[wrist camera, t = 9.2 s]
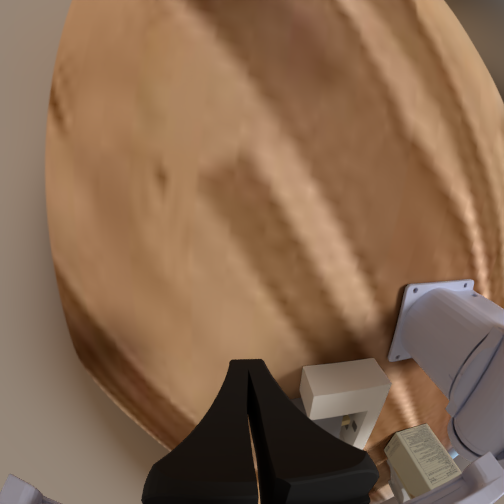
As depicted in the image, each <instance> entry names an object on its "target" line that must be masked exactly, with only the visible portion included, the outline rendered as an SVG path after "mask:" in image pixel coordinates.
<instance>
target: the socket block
mask: <svg viewBox="0 0 504 504" xmlns="http://www.w3.org/2000/svg"><path fill="white" fill-rule="evenodd" d="M391 384H392V383H391V381H390V380H389V378H388V377H387V376H386V374H385V373H384V371H383V370H382V369H381V367H380V366H379V364H378V363H377V362H376V360H375V359H374V358H368V359H362V360H355V361H347V362H339V363H331V364H321V365H311V366H303V370H302V376H301V383H300V389H299V391H300V394H301V398H302V401H303V404H304V407H305V410H306V414H307V417H308V418H310V419H311V420H317V419H324V418H330V417H336V416H342V415H343V416H346V415H348V416H349V418H350V423H349V424H347V425H343V426H341V430H340V435H339V439H340V440H342V441H344V442H346V443H348V444H350V445H352V446H354V447H357V448H359V449H361V450H363V448H364V446H365V444H366V442H367V440H368V438H369V436H370V434H371V432H372V429H373V427H374V425H375V423H376V421H377V418H378V416H379V414H380V411H381V409H382V407H383V404H384V402H385V399H386V397H387V394H388V392H389V389H390V387H391Z"/></svg>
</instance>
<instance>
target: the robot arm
mask: <svg viewBox="0 0 504 504" xmlns="http://www.w3.org/2000/svg"><path fill="white" fill-rule="evenodd" d="M473 285H474V281H473V280H472V279H465V280H455V281H443V282H431V283H417V284H409V285H407V286H406V288H405V291H404V296H403V300H402V305H401V309H400V314H399V318H398V322H397V326H396V330H395V334H394V337H393V341H392V344H391V348H390V351H389V355H388V360H389V361H390V362H394V361H399V360H404V359H409V358H413V359H414V360H415V361H416V362H417V364H418V365H419V366H420V367H421V368H422V369H423V370H424V371H425V373H426V374H427V375H428V376H429V377H430V378H431V380H432V381H433V382H434V383H435V384H436V385H437V387H438V388H439V389H440V390H441V391H442V392H443V394H444V395H445V396H446V397H447V398H448V400H449V403H448V405H447V407H446V410H447V412H448V413H449V414H450V415H451V417H452V418H451V419H450V421H449V423H448V435H449V438H450V441H451V444H452V446H453V448H454V449H455V451H456V452H457V453H458V454H459V455H460V456H461V457H463V458H464V459H465V460H467V461H469V462H472V463H471V464H469V465H468V466H467V467H466V468H465V469H464V471H463V472H462V474H460V475H459V476H457V477H455V478H453V479H452V480H450V481H448V482H446V483H444V484H442V485H440V486H438V487H436V488H434V489H432V490H430V491H428V492H426V493H424V494H422V495H420V496H417V497H415V498H413V499H410V500H408V501H406V502H403V503H401V504H493V503H495V502H496V501H497V500H498V499H499V498H500V497H501V496H503V495H504V309H503V308H501V307H500V306H498V305H496V304H495V303H493V302H492V301H490V300H488V299H487V298H485V297H483V296H482V295H480V294H478V293H477V292H475V291H473V290H472V289H473ZM414 289H415V290H414ZM413 290H414V291H413ZM397 355H398V356H397ZM396 356H397V357H396ZM248 417H249V423H250V428H251V433H252V438H253V443H254V448H255V453H256V459H257V468H258V479H259V491H260V502H261V504H369V503H370V498H369V495H368V492H369V491H370V490H371V489H372V487H373V486H374V485H375V483H376V482H377V480H378V478H379V472H378V470H377V468H376V466H375V464H374V462H373V461H372V459H371V458H370V456H369V455H368V453H367V452H366V451H364V450H361V449H359V448H357V447H354V446H352V445H350V444H348V443H346V442H344V441H342V440H340V439H338V438H336V437H335V436H333V435H332V434H330V433H329V432H327V431H326V430H324V429H323V428H321V427H320V426H318V425H317V424H316V423H315V422H313V421H312V420H311V419H310V418H308V417H307V416H306V415H305V414H304V413H303V412H302V411H301V410H300V409H299V408H298V407H297V406H296V405H295V404H294V403H293V402H292V401H291V400H290V399H289V398H288V396H287V395H286V394H285V393H284V392H283V390H282V389H281V388H280V386H279V385H278V384H277V382H276V381H275V379H274V378H273V376H272V375H271V373H270V372H269V370H268V368H267V366H266V364H265V362H264V361H263V360H262V359H240V360H231V361H230V363H229V368H228V372H227V375H226V378H225V380H224V382H223V385H222V387H221V389H220V391H219V393H218V395H217V397H216V399H215V400H214V402H213V404H212V405H211V407H210V409H209V410H208V412H207V413H206V415H205V416H204V417H203V419H202V420H201V421H200V423H199V424H198V425H197V426H196V427H195V429H194V430H193V431H192V432H191V433H190V434H189V435H188V436H187V437H186V438H185V439H184V440H183V441H182V442H181V443H180V444H179V445H178V446H177V447H176V448H175V449H173V450H172V451H171V452H170V453H169V454H167V455H166V456H165V457H163V458H162V459H160V460H159V461H158V462H156V463H155V464H154V465H153V466H152V469H151V470H150V472H149V474H148V476H147V479H146V482H145V485H144V489H143V494H142V499H141V501H142V503H143V504H258V488H257V480H256V474H255V468H254V462H253V456H252V448H251V441H250V433H249V425H248ZM0 504H61V503H59V502H57V501H54V500H52V499H49V498H47V497H45V496H43V494H42V493H41V492H40V491H39V490H38V489H37V488H35V487H34V486H32V485H31V484H29V483H27V482H25V481H24V480H22V479H20V478H18V477H16V476H14V475H12V474H9V476H8V478H7V480H6V482H5V484H4V486H3V488H2V490H1V492H0Z"/></svg>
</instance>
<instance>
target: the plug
mask: <svg viewBox="0 0 504 504" xmlns="http://www.w3.org/2000/svg"><path fill="white" fill-rule="evenodd" d="M290 400H291V401H292V402H293V403H294V404H295V405H296V406H297V407H298V408H299V409H300V410H301V411H302V412H303V413H304V414H305V415H306V416H307V414H306V410H305V407H304V404H303V401H302V398H295V399H290ZM312 421H313V422H315V423H316V424H317V425H318V426H320V427H321V428H323V429H324V430H326V431H327V432H329V433H330V434H332V435H333V436H335V437H336V438H338V439H339V435H340V430H341V426H343V425H347V424H349V423H350V418H349V416H348V415H346V416H343V415H342V416H336V417H330V418H324V419H317V420H312Z"/></svg>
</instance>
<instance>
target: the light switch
mask: <svg viewBox="0 0 504 504" xmlns="http://www.w3.org/2000/svg"><path fill="white" fill-rule="evenodd" d="M387 464H388V465H389V467H390V473H391V479H390V480H388V483H389V485H390V487H391V490H392V492H393V494H394V496H395V498H396V500H397V503H398V504H401V503H403V502H406V501H408V500H410V498H409V496H408V494H407V492H406V491H405V489H404V487H403V485H402V483H401V481H400V479H399V478H398V476H397V474H396V472H395V470H394V468H393V466H392V465H391V463H390V461H389V459H387Z"/></svg>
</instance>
